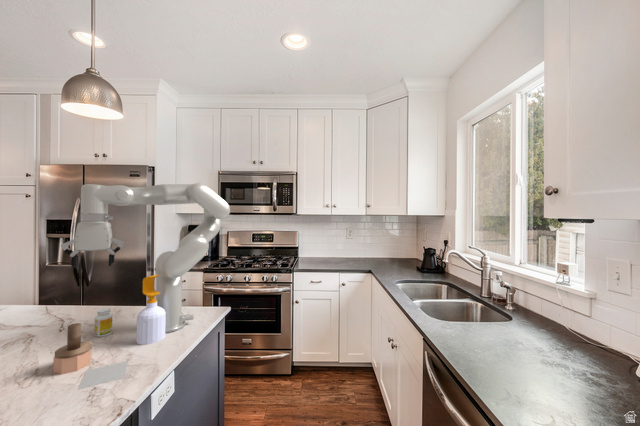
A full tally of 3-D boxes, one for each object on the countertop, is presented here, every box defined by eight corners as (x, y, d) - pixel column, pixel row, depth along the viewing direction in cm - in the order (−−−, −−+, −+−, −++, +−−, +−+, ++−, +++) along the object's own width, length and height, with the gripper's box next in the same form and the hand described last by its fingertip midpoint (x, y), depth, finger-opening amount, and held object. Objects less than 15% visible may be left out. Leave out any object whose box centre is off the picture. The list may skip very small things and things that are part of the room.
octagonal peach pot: (92, 358, 87) (93, 342, 87) (87, 370, 80) (87, 353, 80) (59, 365, 82) (59, 348, 83) (50, 378, 76) (50, 361, 76)
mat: (127, 362, 84) (127, 360, 84) (124, 379, 76) (124, 377, 76) (86, 372, 79) (86, 370, 79) (78, 391, 70) (78, 389, 70)
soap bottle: (144, 348, 93) (145, 278, 93) (131, 341, 98) (133, 275, 98) (169, 338, 101) (171, 274, 101) (157, 332, 106) (158, 271, 106)
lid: (94, 342, 87) (94, 317, 87) (88, 353, 80) (89, 327, 80) (59, 348, 83) (60, 323, 83) (50, 361, 75) (50, 333, 76)
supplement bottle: (90, 337, 101) (91, 312, 101) (101, 331, 106) (101, 307, 106) (105, 337, 101) (106, 312, 101) (115, 331, 107) (115, 307, 107)
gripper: (125, 218, 103) (124, 262, 103) (64, 218, 94) (64, 266, 94) (123, 219, 97) (122, 266, 97) (58, 219, 88) (57, 270, 87)
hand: (93, 266), depth 95 cm, fingers open, 9 cm apart
